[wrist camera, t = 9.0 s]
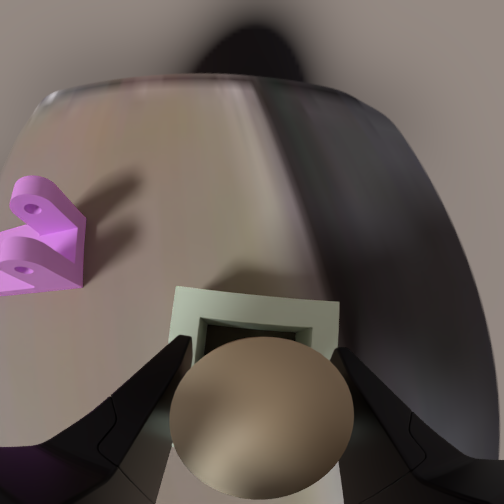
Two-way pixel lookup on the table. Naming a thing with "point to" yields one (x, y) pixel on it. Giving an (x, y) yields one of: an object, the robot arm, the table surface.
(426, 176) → the table surface
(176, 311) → the square frame
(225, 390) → the beige cylinder
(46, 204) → the bracket
